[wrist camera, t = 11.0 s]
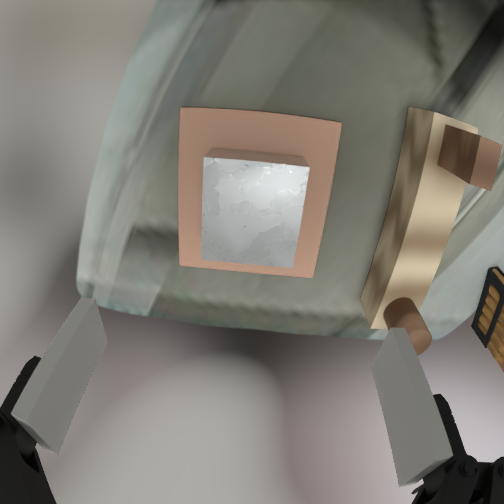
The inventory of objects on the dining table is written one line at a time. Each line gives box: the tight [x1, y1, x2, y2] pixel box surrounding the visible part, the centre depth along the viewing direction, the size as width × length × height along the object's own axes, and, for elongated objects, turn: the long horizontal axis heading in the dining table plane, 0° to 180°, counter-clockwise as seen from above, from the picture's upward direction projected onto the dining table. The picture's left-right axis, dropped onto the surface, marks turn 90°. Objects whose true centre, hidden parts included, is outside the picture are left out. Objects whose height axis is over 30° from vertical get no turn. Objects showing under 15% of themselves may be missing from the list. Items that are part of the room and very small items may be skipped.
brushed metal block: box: [201, 148, 310, 268], centre depth 27 cm, size 9×8×4 cm
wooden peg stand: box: [360, 107, 502, 356], centre depth 25 cm, size 22×5×10 cm, turn 175°
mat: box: [178, 107, 342, 278], centre depth 29 cm, size 16×14×1 cm
